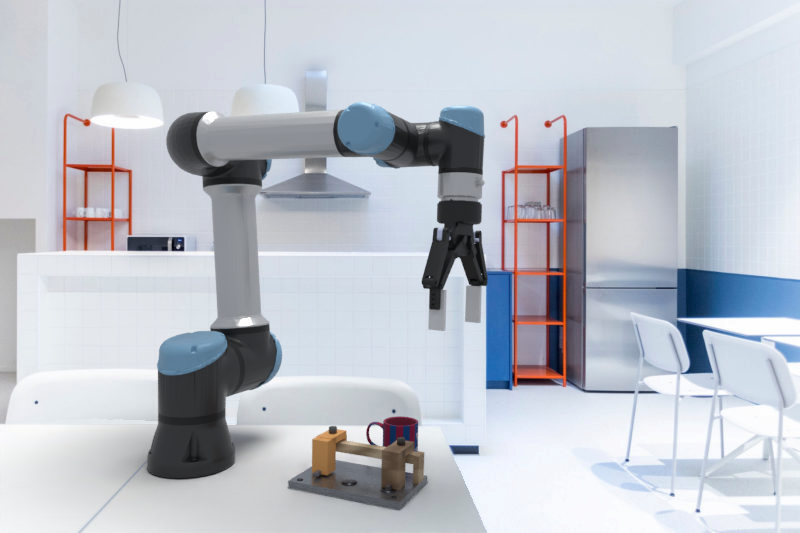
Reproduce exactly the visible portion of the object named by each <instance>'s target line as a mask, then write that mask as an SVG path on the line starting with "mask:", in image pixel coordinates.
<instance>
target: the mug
mask: <svg viewBox="0 0 800 533" xmlns="http://www.w3.org/2000/svg"><path fill="white" fill-rule="evenodd" d="M375 425H376V426H378V427H380V428H381V429H382V446H383V447H387V446H389V445H391V444H392V443H394V442H395V441H397V438H398V437H404V438H405V441H412V442H414V451H415V452H418V451H419V420H418V419H416V418H414V417H409V416H390V417H387V418H385V419H384V420H383V421H382V422H379V421H372V422H370V423H368V425H367V428H366V432H365V434H366V435H365V436H366V440H367V442H368V444H370V445H376V446H379V445H378V444H376V443H374V442H373V440H372V439H371V437H370V428H371V427H372V426H375Z"/></svg>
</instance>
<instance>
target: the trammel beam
mask: <svg viewBox="0 0 800 533" xmlns="http://www.w3.org/2000/svg"><path fill="white" fill-rule="evenodd" d="M376 445H377V444H376ZM376 445H370V444H369V443H364V442H363V443H362V442H357V441H356V442H355V441H351V440H347V441H344V440H341V441H339V442H337V443H336V453H337V452H338V453H342V454H343V453H344V454H348V455H349V454H350V455H354V456H360V457H367V458H373V459H378V460H381V468H382V475H381V487H385V491H390V490H391V489H396V490H399V489H401V488H402V487H403V486H404V485H405V472H406V464H409V465H412V473H413V483H414V484H419V483H420V482H422V481H423V480H424V474H425V452H424V451H420V450H418V452H415V451H414V442H412V441H405V438H404V437H398V438H397V441H395V442H394V443H392V444H391V445H389V446H387V447H383V445H382V446H381V445H378V446H376Z"/></svg>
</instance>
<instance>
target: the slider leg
mask: <svg viewBox="0 0 800 533" xmlns="http://www.w3.org/2000/svg"><path fill="white" fill-rule="evenodd" d="M341 440H344V441H348V435H347V430H343V429H339V428H338V426H336V425H331V426H330V425H329V427H328V430H326V431H324V432H322V433H320V434H319V435H317V436H315V437H314V438H312V440H311V452H312V453H311V466H312V473H314V476H320V475H321V474H322V475H329V474H330V473H332V472H333V471H335V466H336V460H337V458H336V453H337V452H336V443H337V442H339V441H341Z"/></svg>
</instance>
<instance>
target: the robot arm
mask: <svg viewBox="0 0 800 533" xmlns="http://www.w3.org/2000/svg"><path fill="white" fill-rule="evenodd" d="M485 139H486V135H485V116H484V112H483V111H482V110H481V109H480V108H477V107H475V106H471V105H462V104H461V105H460V104H459V105H450V106H446V107H442V109H441V110H440V113H439V117H438V120H437V121H436V120H435V121H430V122H428V121H427V122H410V121H408V120H405V119H404V118H402V117H399V116H397V115H395V114H393V113H391V112H390V111H388V110H387V109H385V108H383V107H382V106H380V105H378V104H376V103H370V102H367V101H357V102H356V101H355V102H353V103H352V104H350V105H348V106H347V107H346V108H344V109H331V110H330V109H329V110H314V111H312V110H311V111H299V112H296V111H295V112H282V113H281V112H280V113H279V112H278V113H265V114H264V113H263V114H246V115H232V116H225V115H224V114H223V113H221V112H219V111H215V110H214V111H195V112H194V111H193V112H188V113H185V114H181V116H179V117H177V118H176V119H174V121H173V122H172V124H171V125H170V126H169V128H168V130H167V133H166V140H165V142H166V149H167V152H168V155H169V157H170V159H171V160H172V161H173V163H174V164H175V165H176V166H177V167H178V168H180V169H181V170H182V171H184V172H186V173H188V174H191V175H192V176H193V175H194V176H199V177H202V178H201V179H202V180H201V181H202V191H203V192H204V193H206V195H207V196H209V197H210V199H211V200H210V201H211V216H212V219H211V220H212V232H213V233H212V235H213V253H214V254H213V255H214V272H215V273H214V274H215V295H216V308H217V309H216V312H217V314H216V315H217V317H216V319H215V320H214V321H213V323H211V324H210V326H209V329H210V330H198V331H194V332H185V333H180V334H176V335H174V336H170V337H169V338H167V339H166V340H164V341H162V343H161V344H160V347H159V349H158V359H157V363H156V367H157V426H156V429H155V432H154V435H153V438H152V441H151V445H150V449H149V450H148V452H147V457H146V460H147V461H146V466H147V467H146V469H147V471H148V473H150V474H152V475H155V476H157V477H162V478H169V479H190V478H191V479H192V478H198V477H204V476H209V475H213V474H216V473H220V472H222V471H224V470H226V469H228V468H230V467H231V466H232V465H234V463H235V461H236V447H235V444H234V443H233V441H232V437H231V433H230V430H229V429H230V428H229V426H228V423H227V419H226V415H227V414H226V404H227V402H226V399H227V397H230V396H231V397H232V396H234V395H237V394H241V393H244V392H246V391H247V392H248V391H252V390H253V391H254V390H255V389H258V388H260V387H262V386H264V385H266V384H268V383H269V382H270V381H272V380H273V379H274V378H275V377H276V376H277V374H278V372H279V370H280V369H281V365H282V362H283V349H282V345H281V342H280V341H279V339H277V336H276V335H275V334H274V333H273V332H271V328H270V321H269V320H268V319H267V318H266V317H264V315H263V314H262V303H261V300H262V299H261V285H260V282H261V281H260V269H259V268H260V267H259V266H260V265H259V245H258V244H259V243H258V228H257V227H258V225H257V209H256V208H257V207H256V197H257V195H259V194H260V192H261V191H262V190H263V180H265V179H266V178H267V177H268V172H270V170H271V168H272V163H273V162H272V160H288V159H290V160H291V159H293V160H294V159H321V158H323V159H325V158H372V159H373V160H374V161H375V163H376V165H378V166H379V167H380V168H391V169H392V168H393V169H401V168H415V167H416V168H418V167H421V168H422V167H438V172H437V174H438V176H437V177H438V178H437V198H438V199H440V200H439V201H438V203H437V205H436V206H437V208H436V209H437V210H436V221H437V223H438V224H441V225H443V227H434V228H433V232H432V242H431V245H430V249H429V252H428V256H427V260H426V263H425V267H424V270H423V275H422V277H421V285H422V287H423V289H424V290H425V289H426V290H427V289H428V290H429V292H428V293H429V296H428V297H429V298H428V323H427V324H428V326H427V328H428V330H430V331H431V330H432V331H439V332H445V331H446V321H447V319H446V318H447V291H448V290H447V289H444V287H445V285H446V283H447V280H448V278H449V275H450V273H451V271H452V269H453V265H454V263H455V261H456V259H460V262H461V264H462V268H463V271H464V273H465V277H466V280H467V282H468V285H466V286H465V310H464V313H465V316H464V322H465V323H476V324H480V323H481V320H482V319H481V318H482V289H483V288H482V287H487V286H488V283H489V282H488V280H489V279H488V278H489V277H488V272H487V266H486V260H485V254H484V253H485V252H484V247H483V240H482V239H483V236H482V235H483V232H482V230H474V225H477V226H478V225H480V224H481V223H482V220H483V219H482V216H483V215H482V213H483V204H481V203H482V202H480V201H479V200H481V199H482V198H483V186H484V185H485V181H484V179H483V174H484V172H483V171H484V152H485Z"/></svg>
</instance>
